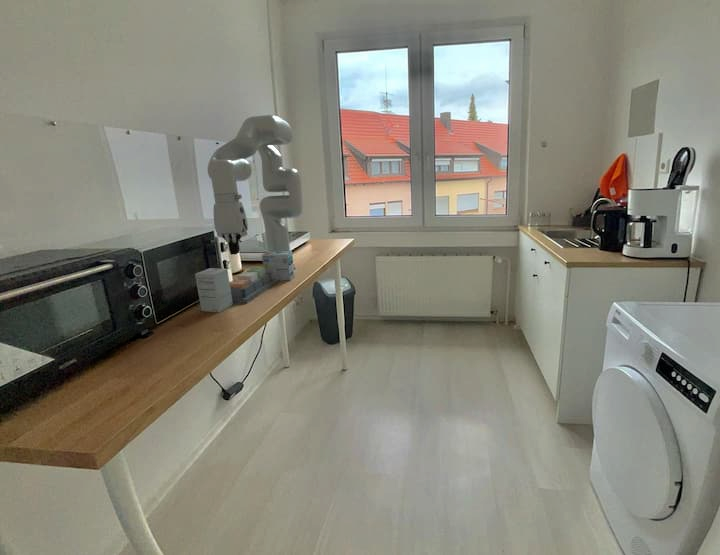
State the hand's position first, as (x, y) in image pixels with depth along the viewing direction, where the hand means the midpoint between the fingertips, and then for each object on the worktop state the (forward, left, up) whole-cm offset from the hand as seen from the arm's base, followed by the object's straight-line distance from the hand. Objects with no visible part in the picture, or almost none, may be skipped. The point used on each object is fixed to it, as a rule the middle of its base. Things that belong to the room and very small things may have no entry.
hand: (234, 253), depth 144 cm
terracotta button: (0, 0, -14) cm, 14 cm away
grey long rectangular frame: (-6, 0, -16) cm, 17 cm away
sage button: (-13, 0, -13) cm, 19 cm away
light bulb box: (-24, +4, -16) cm, 30 cm away
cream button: (-6, 0, -13) cm, 15 cm away
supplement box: (+11, -3, -16) cm, 20 cm away
